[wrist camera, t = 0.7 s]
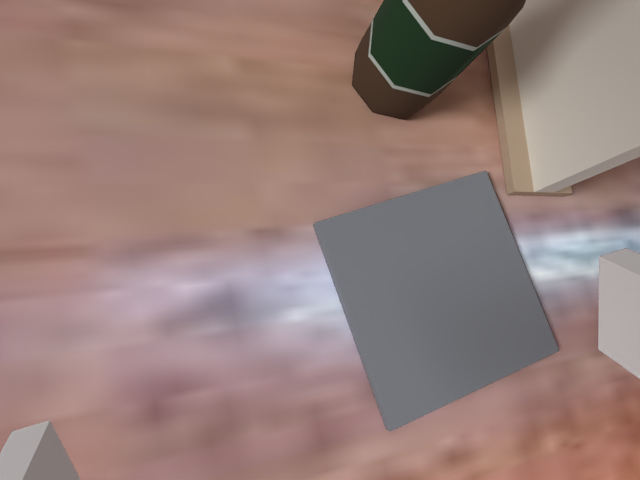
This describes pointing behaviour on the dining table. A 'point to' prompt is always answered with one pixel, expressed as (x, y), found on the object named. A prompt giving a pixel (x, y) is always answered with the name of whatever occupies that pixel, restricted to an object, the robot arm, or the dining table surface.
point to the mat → (434, 295)
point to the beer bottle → (423, 49)
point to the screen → (566, 92)
